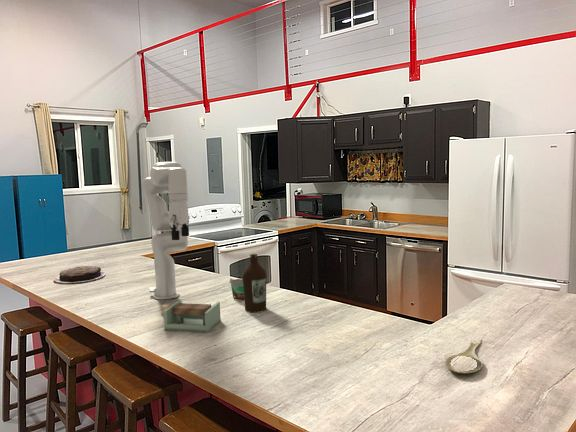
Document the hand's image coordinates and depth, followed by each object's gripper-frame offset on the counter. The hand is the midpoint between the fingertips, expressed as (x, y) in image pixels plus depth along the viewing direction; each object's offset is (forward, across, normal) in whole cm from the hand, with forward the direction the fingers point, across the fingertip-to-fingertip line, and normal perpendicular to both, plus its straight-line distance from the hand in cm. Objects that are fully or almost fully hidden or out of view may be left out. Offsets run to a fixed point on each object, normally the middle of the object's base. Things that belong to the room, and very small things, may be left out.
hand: (180, 238), depth 199 cm
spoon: (+35, +26, +112) cm, 120 cm away
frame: (+34, +10, +8) cm, 37 cm away
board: (+29, +10, +8) cm, 31 cm away
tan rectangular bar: (+34, -2, -6) cm, 35 cm away
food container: (+34, -28, +18) cm, 48 cm away
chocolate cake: (+35, -58, -91) cm, 113 cm away
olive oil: (+34, -13, +28) cm, 46 cm away
